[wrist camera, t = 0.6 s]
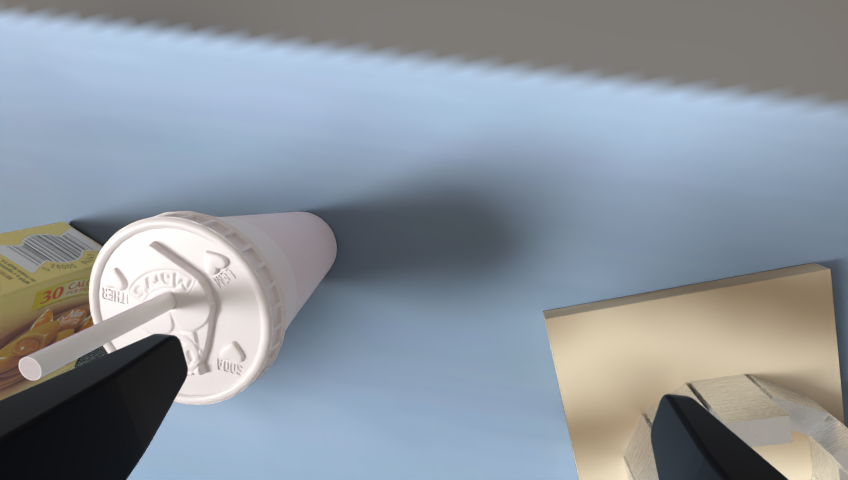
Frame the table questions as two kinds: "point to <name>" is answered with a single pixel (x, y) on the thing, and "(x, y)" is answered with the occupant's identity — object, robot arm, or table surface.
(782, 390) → the white crenellated ring
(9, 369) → the candy box
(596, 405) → the cap plate
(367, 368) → the table surface
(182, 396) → the smoothie
